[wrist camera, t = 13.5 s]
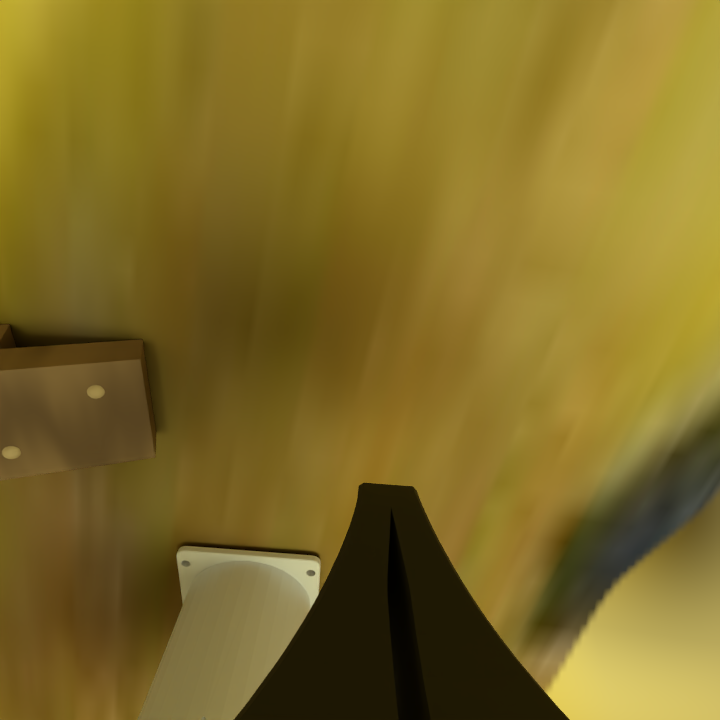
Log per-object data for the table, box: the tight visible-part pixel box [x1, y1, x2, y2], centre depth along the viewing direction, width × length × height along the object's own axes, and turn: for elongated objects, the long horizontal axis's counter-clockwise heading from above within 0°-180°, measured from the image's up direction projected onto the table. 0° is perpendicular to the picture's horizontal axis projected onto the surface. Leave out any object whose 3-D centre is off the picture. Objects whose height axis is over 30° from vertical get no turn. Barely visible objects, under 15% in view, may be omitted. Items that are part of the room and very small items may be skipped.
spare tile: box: [0, 339, 156, 481], centre depth 19 cm, size 5×2×7 cm
